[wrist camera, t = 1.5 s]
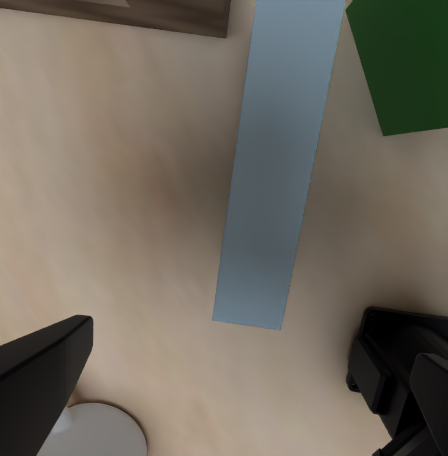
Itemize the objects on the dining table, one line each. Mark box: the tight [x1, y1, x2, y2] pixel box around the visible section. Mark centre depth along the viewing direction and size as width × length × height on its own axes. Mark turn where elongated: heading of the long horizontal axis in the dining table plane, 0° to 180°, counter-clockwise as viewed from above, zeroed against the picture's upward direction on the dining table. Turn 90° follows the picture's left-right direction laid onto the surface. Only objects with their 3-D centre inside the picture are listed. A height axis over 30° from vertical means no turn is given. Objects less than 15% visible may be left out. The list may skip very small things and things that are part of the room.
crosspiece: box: [212, 0, 346, 330], centre depth 16 cm, size 14×3×8 cm, turn 172°
